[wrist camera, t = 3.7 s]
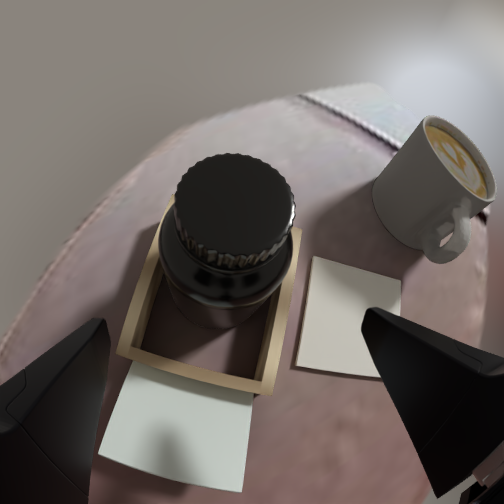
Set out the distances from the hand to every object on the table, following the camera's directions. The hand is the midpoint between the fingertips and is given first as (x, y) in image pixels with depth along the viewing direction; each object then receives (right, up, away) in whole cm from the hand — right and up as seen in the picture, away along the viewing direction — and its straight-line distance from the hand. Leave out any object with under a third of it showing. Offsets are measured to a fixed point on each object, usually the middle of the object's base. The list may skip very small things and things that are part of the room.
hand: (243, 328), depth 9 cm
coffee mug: (+17, +6, +19) cm, 26 cm away
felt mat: (+9, -3, +13) cm, 16 cm away
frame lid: (-4, -9, +8) cm, 13 cm away
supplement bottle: (-2, 0, +13) cm, 13 cm away
